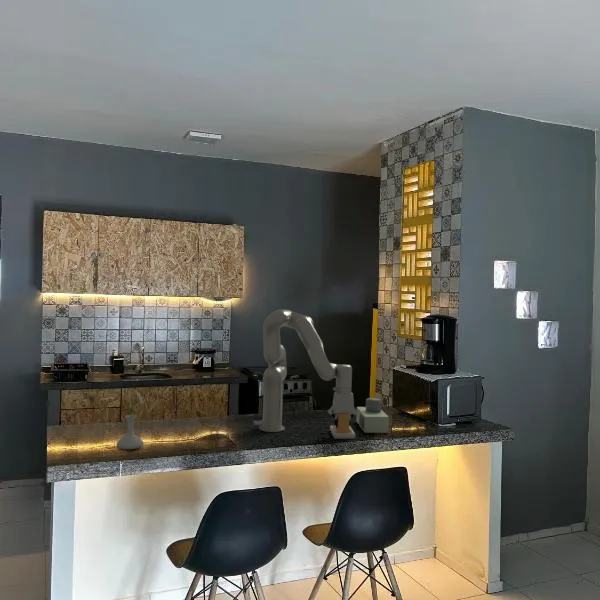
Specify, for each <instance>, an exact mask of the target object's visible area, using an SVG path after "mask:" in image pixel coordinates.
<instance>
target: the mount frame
mask: <svg viewBox="0 0 600 600" xmlns="http://www.w3.org/2000/svg"><path fill="white" fill-rule="evenodd" d="M330 431H331V432H330ZM329 432H330V434H331V433H332V434H331V435H332V437H333V439H334V440H337V439H338V440H339V439H340V440H345V439H346V440H355V439H356V433H355V431H354V430H353V428H352V427H351V425H350V426H349V433H338V432H337V430H336V426H335V425H330V426H329Z"/></svg>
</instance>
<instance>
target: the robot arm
mask: <svg viewBox="0 0 600 600" xmlns="http://www.w3.org/2000/svg"><path fill="white" fill-rule="evenodd" d="M314 323H315V322H314V320H313V319H312V317H310V316H308V315H305V314H301V313H299V312H296V311H293V310H289V309H282V308H281V309H277V310H275V311H273V312H271V313H270V314H269V315H267V316H266V318H265V320H264V321H263V326H262V327H263V328H262V335H263V336H262V337H263V338H262V339H263V344H262V345H263V358H264V360H265V362H267V364H268V368H266V369H265V370H264V372H263V375H262V383H263V384H262V385H263V394H262V395H263V397H262V398H263V400H262V401H263V402H262V403H263V405H262V419H261V420H253V426H254V425H255V426H258V427H259V428H258V429H259V430H260V431H263V432H266V433H267V432H268V433H278V432H282V431H285V429H286V427H285V426H284V425H283V423H282V422H283V400H284V399H283V393H284V392H283V390H284V389H283V381H284V380H285V379H286V377H287V376H288V375H287V374H288V370H287V369H288V368H287V352H286V349H285V347H284V345H283V344H281V332H280V331H281V328H283V327H287V328H290V329H293V330H295V331H296V333H297V335H298V337H299V339H300V340H301V343H302V344H303V346H304V348H305V349H306V351H307V354H308V356H309V358H310V361H311V362H312V365H313V367H314V369H315V370H316V372H317V374H318V376H319V377H320V379H322V380H323V381H326V382H327V381H331V380H333V379H336V380H335V387H332V390H333V391H334V392H333V398H332V406H331V407H330V408H329V409H328V410H327V413H328V414H329V415H330V416H332V418H333V419H334V425H333V426H336V428H338V418H337V417H338V414H349V415H350V420H349V426H350V427H351V421H352V419H353V418H354V417H355V416H357V413H358V412H357V408H355V406H354V404H355V402H354V401H355V400H354V393H353V392H352V381H353V380H352V379H353V367H352V365H350V364H337V363H332V362H330V361H329V360H328V358H327V355H326V353H325V349H324V343H323V340H322V339H321V337H320V335H319V333H318V332H317V331H316V328H315V327H314Z"/></svg>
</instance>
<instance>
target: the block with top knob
mask: <svg viewBox="0 0 600 600" xmlns="http://www.w3.org/2000/svg"><path fill="white" fill-rule="evenodd" d="M356 411H357V412H358V413H357V414H356V423H357V424H359V425H358V426H359V427H360V429H361V430H362V431H363V432H364V434H365V433H371V434H372V433H373V434H374V433H378V434H381V433H382V434H383V433H384V434H389V428H390V427H389V426H390V425H389V424H390V423H389V421H390V416H389V415H387V414H386V413H385V412H384V410H382V399H380V398H378V397H377V398H375V397H368V398H366V399H365V406H357V407H356Z"/></svg>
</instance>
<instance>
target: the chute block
mask: <svg viewBox="0 0 600 600" xmlns="http://www.w3.org/2000/svg"><path fill="white" fill-rule="evenodd" d="M350 415H351V414H350ZM350 415H349V414H338V417H337V418H338V428H336V430H337V432H338V433H349V420H350ZM350 421H351V420H350Z"/></svg>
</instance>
